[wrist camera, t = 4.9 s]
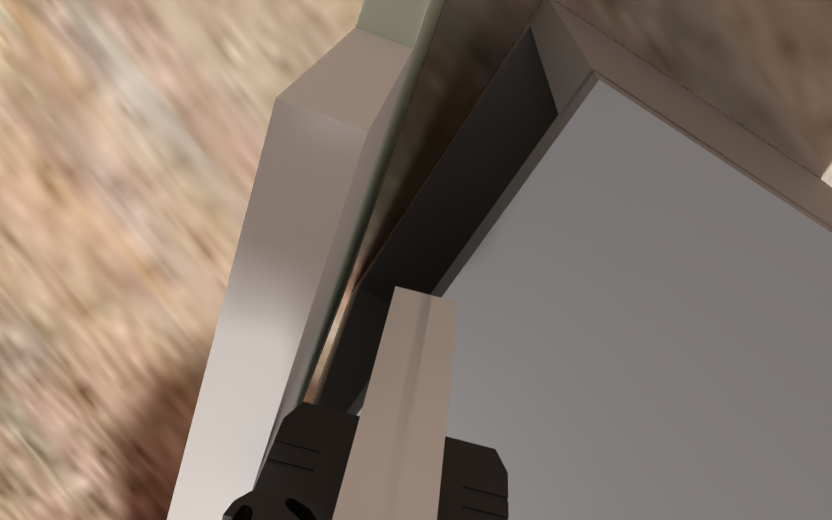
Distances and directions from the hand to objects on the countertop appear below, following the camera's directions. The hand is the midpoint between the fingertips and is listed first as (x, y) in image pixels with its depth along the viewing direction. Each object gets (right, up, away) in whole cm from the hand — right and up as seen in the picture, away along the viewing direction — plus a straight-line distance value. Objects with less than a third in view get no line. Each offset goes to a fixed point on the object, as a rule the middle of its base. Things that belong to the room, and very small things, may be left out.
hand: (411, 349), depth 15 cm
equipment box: (+7, +3, +18) cm, 20 cm away
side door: (-1, +7, +17) cm, 18 cm away
